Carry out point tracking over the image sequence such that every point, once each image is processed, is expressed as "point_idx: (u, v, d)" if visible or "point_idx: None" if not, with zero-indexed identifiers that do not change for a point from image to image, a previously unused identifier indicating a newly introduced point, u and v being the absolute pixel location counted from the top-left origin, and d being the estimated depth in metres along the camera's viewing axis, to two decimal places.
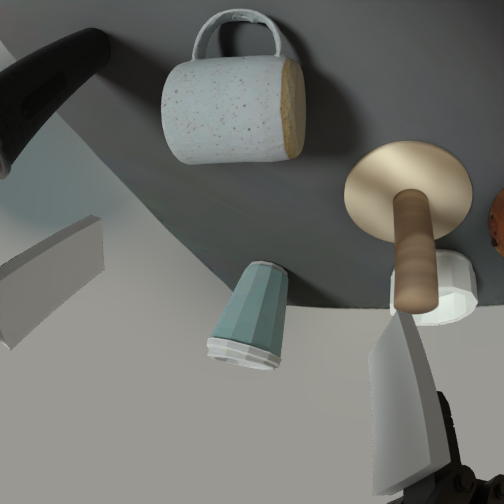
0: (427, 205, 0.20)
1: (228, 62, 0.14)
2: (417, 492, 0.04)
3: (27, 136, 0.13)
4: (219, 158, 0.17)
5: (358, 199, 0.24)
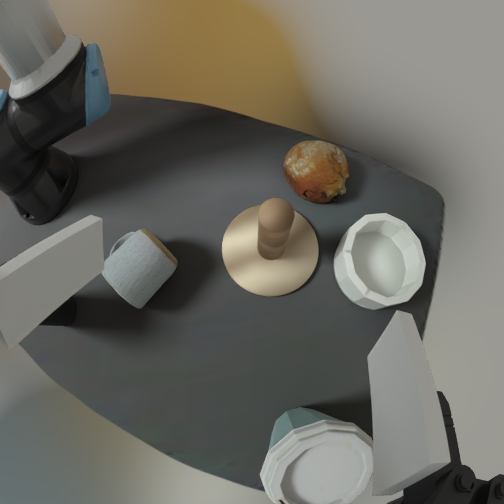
0: None
1: None
2: (417, 492, 0.04)
3: None
4: (134, 274, 0.30)
5: (249, 278, 0.36)
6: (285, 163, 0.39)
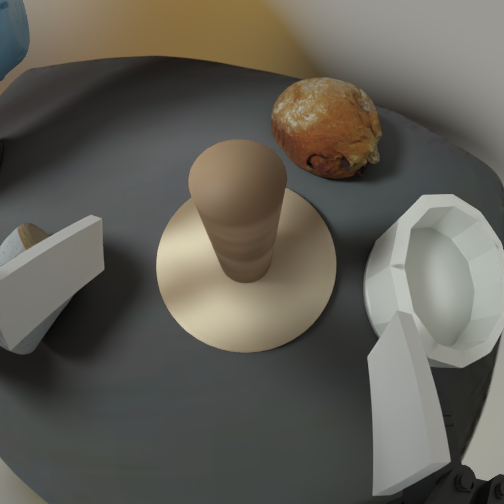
0: None
1: None
2: (417, 492, 0.04)
3: None
4: None
5: (203, 319, 0.18)
6: (273, 112, 0.21)
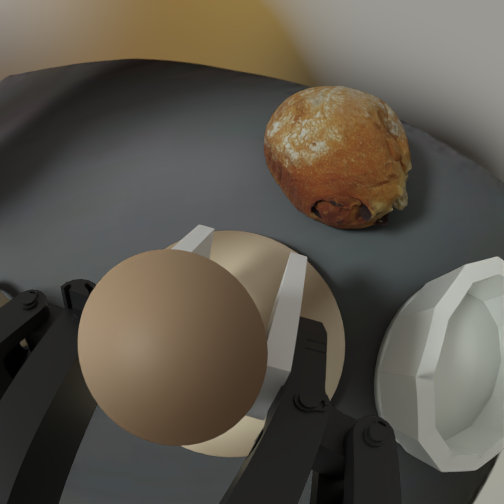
0: None
1: None
2: (270, 409, 0.07)
3: None
4: None
5: None
6: (267, 135, 0.16)
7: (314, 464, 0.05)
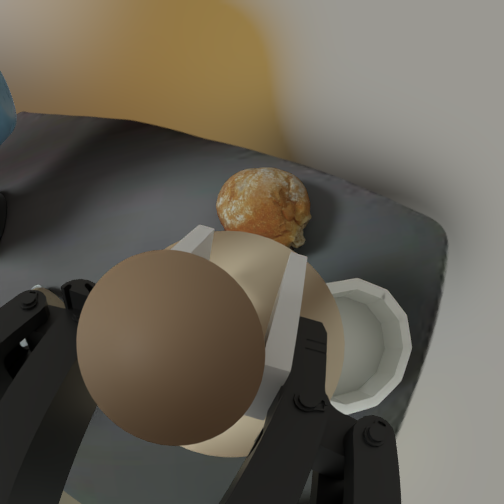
0: None
1: None
2: (270, 409, 0.07)
3: None
4: (24, 345, 0.20)
5: None
6: (216, 204, 0.29)
7: (314, 464, 0.05)
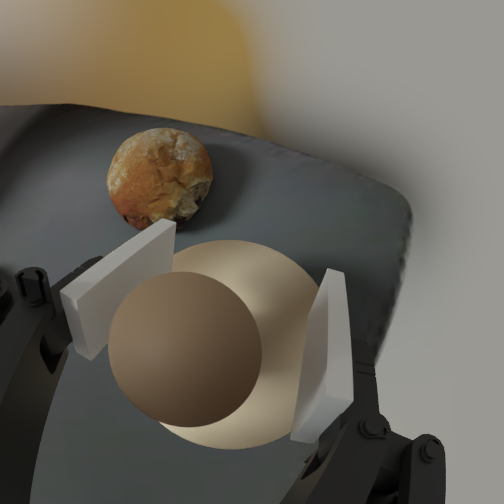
0: None
1: None
2: (327, 436, 0.06)
3: None
4: None
5: None
6: None
7: None
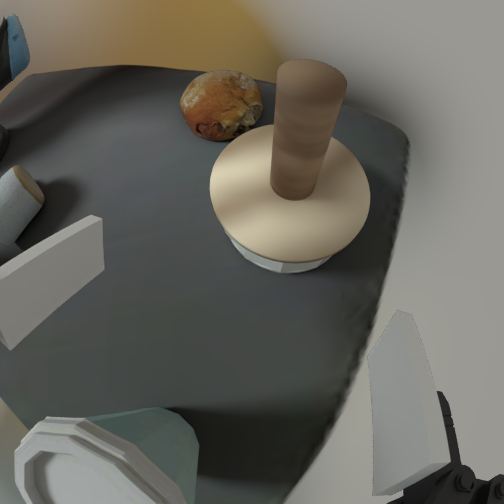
0: None
1: None
2: (417, 492, 0.04)
3: None
4: None
5: (256, 230, 0.20)
6: (180, 100, 0.29)
7: None
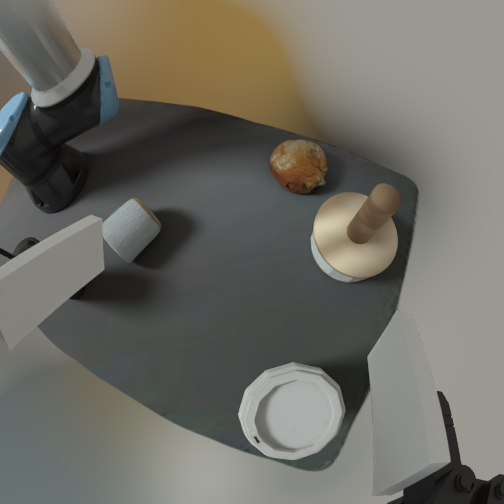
0: None
1: None
2: (417, 492, 0.04)
3: None
4: (125, 231, 0.37)
5: (343, 261, 0.36)
6: (271, 160, 0.45)
7: None
